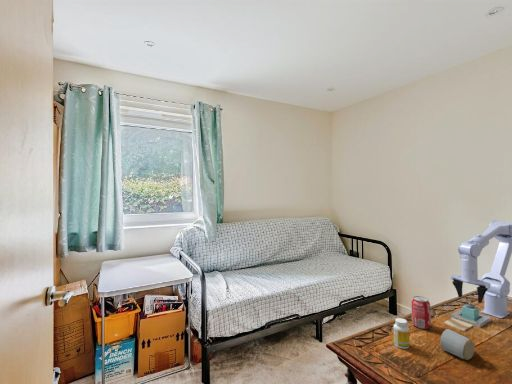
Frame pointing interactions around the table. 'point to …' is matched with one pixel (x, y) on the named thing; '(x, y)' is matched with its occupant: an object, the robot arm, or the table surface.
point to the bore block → (478, 323)
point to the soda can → (421, 312)
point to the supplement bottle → (401, 333)
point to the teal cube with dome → (470, 312)
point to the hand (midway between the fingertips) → (470, 299)
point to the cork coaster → (458, 324)
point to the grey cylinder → (457, 344)
